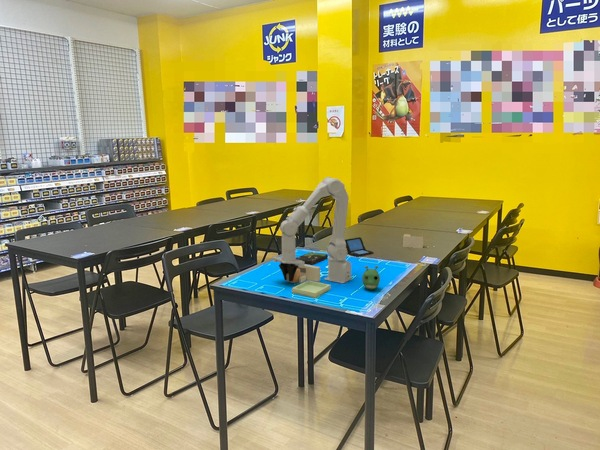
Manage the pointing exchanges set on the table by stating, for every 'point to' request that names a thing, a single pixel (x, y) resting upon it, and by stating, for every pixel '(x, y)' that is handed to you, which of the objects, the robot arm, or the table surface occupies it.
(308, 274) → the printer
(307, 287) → the tray
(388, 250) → the table surface
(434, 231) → the table surface
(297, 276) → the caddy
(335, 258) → the robot arm
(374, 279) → the alien toy
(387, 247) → the table surface
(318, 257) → the disk drive
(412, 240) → the model
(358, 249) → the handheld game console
